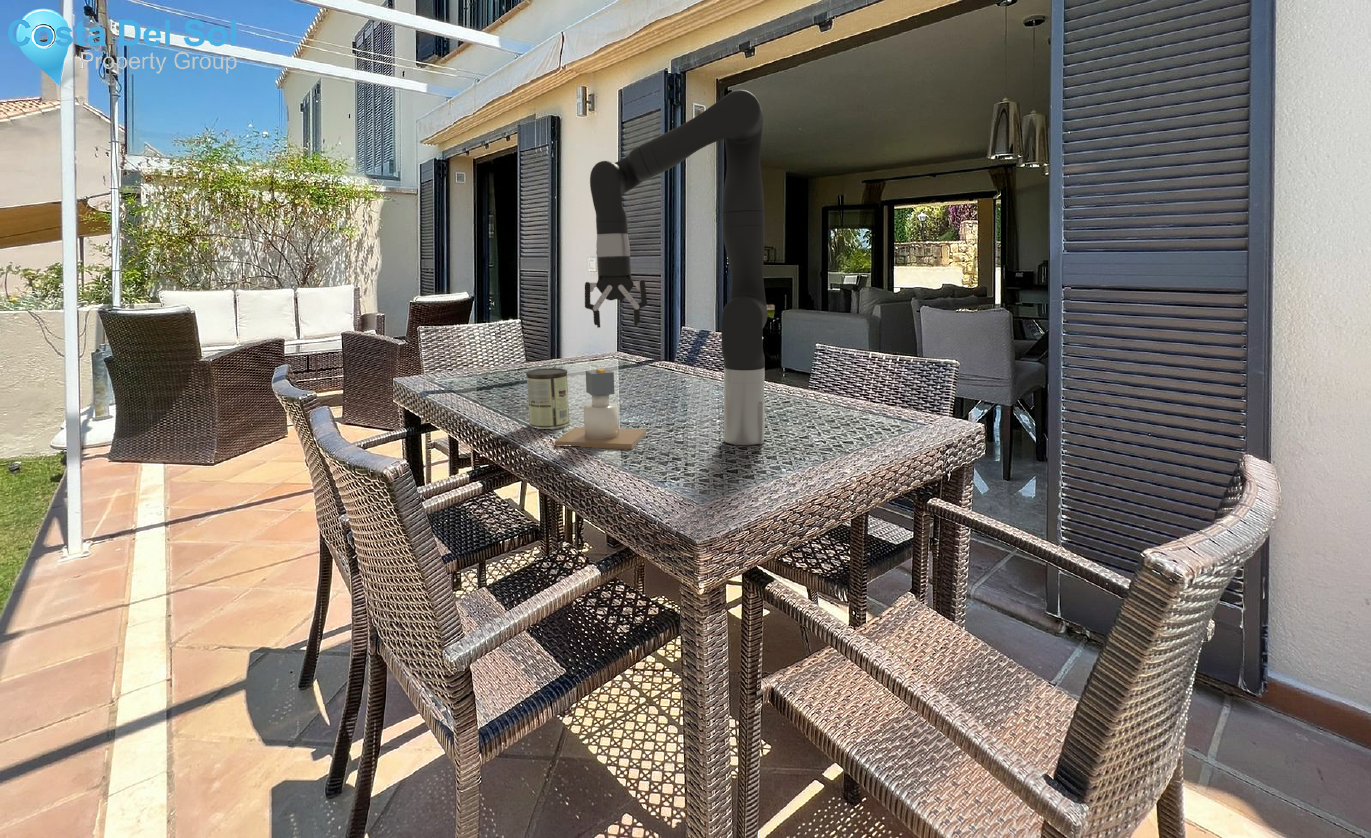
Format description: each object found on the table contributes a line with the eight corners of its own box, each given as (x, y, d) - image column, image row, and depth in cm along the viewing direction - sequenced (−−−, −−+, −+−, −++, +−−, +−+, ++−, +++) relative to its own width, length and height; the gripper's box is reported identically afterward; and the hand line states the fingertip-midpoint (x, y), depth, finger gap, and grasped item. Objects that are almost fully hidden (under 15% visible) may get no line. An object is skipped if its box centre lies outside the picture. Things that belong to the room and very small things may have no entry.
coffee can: (536, 420, 188) (533, 368, 185) (574, 421, 187) (571, 368, 184) (523, 429, 178) (520, 374, 175) (563, 430, 177) (561, 374, 174)
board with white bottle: (646, 434, 172) (645, 389, 169) (631, 449, 158) (630, 401, 156) (575, 431, 175) (573, 388, 172) (555, 446, 161) (552, 399, 159)
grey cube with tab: (586, 392, 165) (585, 368, 164) (607, 390, 167) (607, 366, 166) (592, 395, 161) (591, 371, 160) (614, 393, 163) (613, 369, 161)
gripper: (643, 254, 165) (646, 324, 169) (582, 256, 164) (586, 326, 167) (645, 253, 158) (648, 326, 161) (581, 255, 157) (585, 329, 160)
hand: (617, 326), depth 164 cm, fingers open, 8 cm apart
